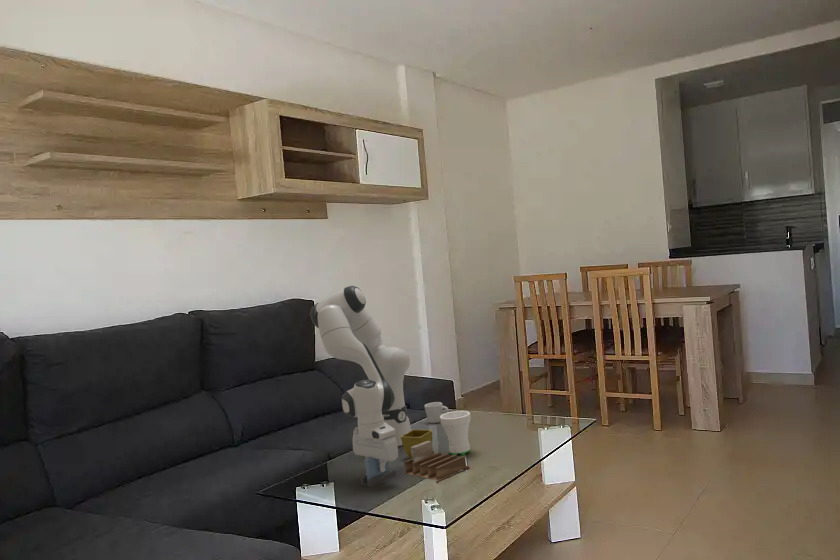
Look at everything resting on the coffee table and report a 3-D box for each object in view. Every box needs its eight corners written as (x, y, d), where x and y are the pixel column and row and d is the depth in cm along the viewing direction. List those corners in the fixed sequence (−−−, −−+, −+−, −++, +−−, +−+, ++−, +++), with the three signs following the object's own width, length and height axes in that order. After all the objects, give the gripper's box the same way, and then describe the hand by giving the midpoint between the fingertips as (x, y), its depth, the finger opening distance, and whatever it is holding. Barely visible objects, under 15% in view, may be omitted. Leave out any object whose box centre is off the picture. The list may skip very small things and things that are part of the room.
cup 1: (453, 419, 298) (450, 401, 297) (446, 424, 290) (444, 405, 290) (430, 419, 302) (428, 402, 302) (423, 424, 295) (421, 406, 295)
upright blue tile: (367, 482, 222) (364, 459, 222) (386, 475, 228) (382, 452, 228) (371, 483, 221) (367, 459, 221) (389, 476, 226) (386, 452, 226)
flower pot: (423, 461, 240) (420, 437, 240) (403, 460, 245) (399, 436, 245) (435, 454, 248) (432, 430, 248) (416, 453, 252) (412, 429, 252)
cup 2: (473, 456, 238) (468, 417, 238) (442, 459, 241) (437, 419, 240) (476, 447, 249) (472, 409, 249) (447, 449, 252) (442, 412, 251)
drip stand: (359, 485, 223) (358, 477, 223) (385, 475, 231) (383, 467, 231) (372, 489, 218) (371, 481, 218) (398, 478, 226) (397, 470, 225)
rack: (403, 475, 228) (399, 449, 228) (434, 461, 238) (431, 437, 238) (437, 482, 216) (434, 455, 216) (469, 468, 226) (466, 442, 226)
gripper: (345, 429, 229) (351, 468, 230) (383, 435, 214) (389, 477, 215) (360, 424, 234) (365, 463, 234) (398, 429, 219) (404, 471, 219)
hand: (377, 470), depth 224 cm, fingers open, 3 cm apart
